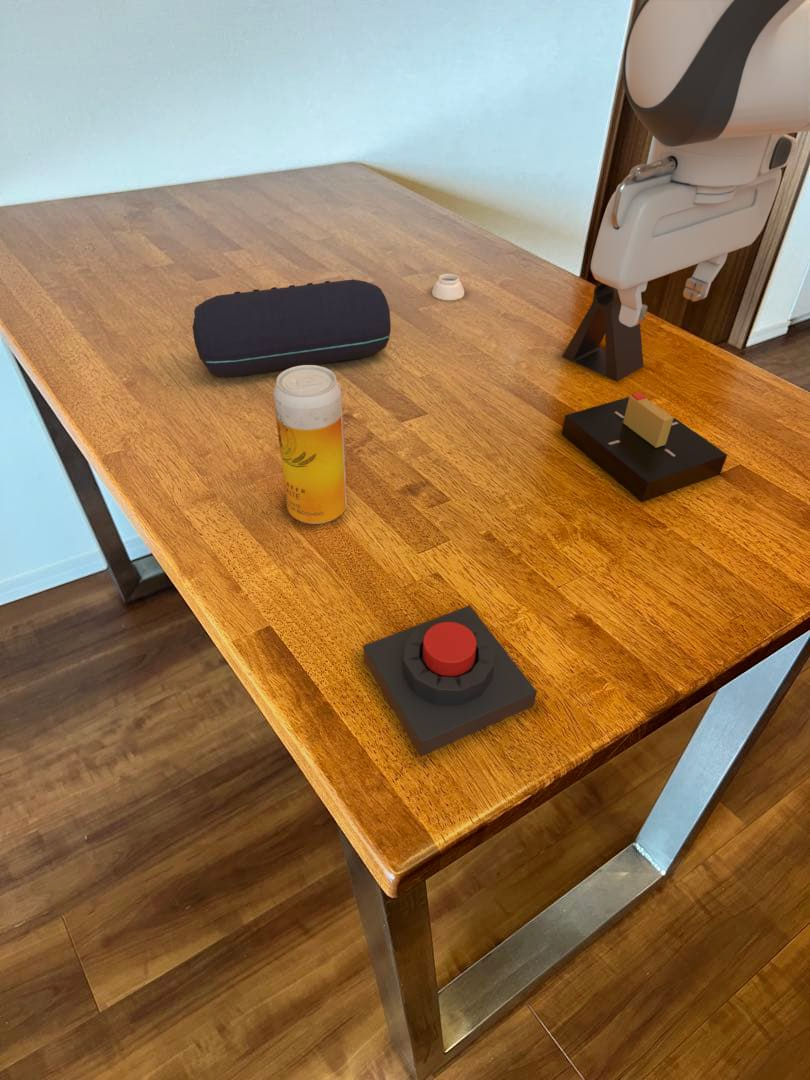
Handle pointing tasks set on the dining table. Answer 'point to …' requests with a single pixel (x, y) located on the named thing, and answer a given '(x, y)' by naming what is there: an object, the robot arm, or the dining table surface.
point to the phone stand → (606, 338)
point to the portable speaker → (291, 327)
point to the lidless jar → (448, 287)
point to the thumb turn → (647, 420)
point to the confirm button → (449, 649)
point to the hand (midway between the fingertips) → (663, 310)
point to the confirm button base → (447, 684)
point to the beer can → (311, 442)
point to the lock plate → (642, 451)
